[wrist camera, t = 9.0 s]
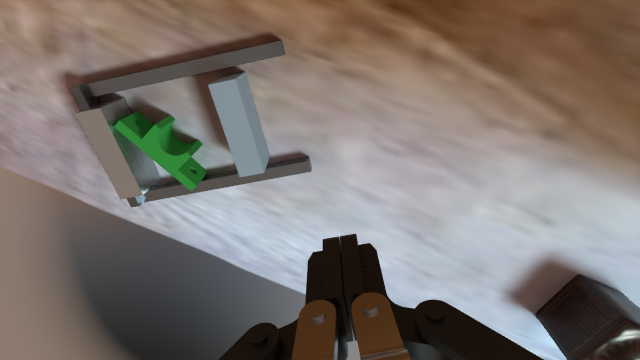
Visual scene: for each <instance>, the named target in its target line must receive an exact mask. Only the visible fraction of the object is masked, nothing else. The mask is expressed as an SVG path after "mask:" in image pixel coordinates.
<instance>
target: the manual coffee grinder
mask: <svg viewBox="0 0 640 360" xmlns="http://www.w3.org/2000/svg"><path fill="white" fill-rule="evenodd" d="M536 318H537V319H538V320H539V321H540V322H541V324H542V325H543V326H544V328H545V329H546V330H547V332H548V333H549V335H550V336H551V338H552V339H553V340H554V342H555V343H556V345H557V346H558V347H559V349H560V350H561V352H562V353H563V354H564V356H565V357H566V359H567V360H640V308H639V307H638V306H636V305H635V304H634V303H633V302H632V301H630V300H629V299H628V298H627V297H626V296H625V295H623V294H622V293H620V292H619V291H617V290H615V289H613V288H611V287H609V286H607V285H604V284H602V283H600V282H598V281H595V280H592V279H590V278H587V277H585V276H582V275H580V274H579V275H577V276H576V277H575V278H574V279H572V280H571V281H570V282H569V283H568V284H566V285H565V286H564V287H563V288H562V289H561V290H560V291H559V292H558V293H557V294H556V295H555V296H554V297H553V298H552V299H550V300H549V301H548V302H547V303H546V304H545V305H544V306H543V307H542V308H541V309H540V310H539V311H538V312H537V314H536Z"/></svg>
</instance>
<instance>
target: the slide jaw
mask: <svg viewBox="0 0 640 360" xmlns="http://www.w3.org/2000/svg"><path fill="white" fill-rule="evenodd" d="M208 86H209V89H210V92H211V95H212V98H213V101H214V104H215V107H216V110H217V112H218V115H219V118H220V121H221V124H222V127H223V130H224V133H225V136H226V139H227V142H228V145H229V147H230V150H231V153H232V156H233V159H234V162H235V165H236V168H237V171H238V174H239V177H244V176H250V175H255V174H261V173H264V172H265V169H266V166H267V164H268V161H269V158H270V155H269V152H268V148H267V145H266V142H265V138H264V135H263V131H262V128H261V124H260V121H259V117H258V114H257V111H256V107H255V104H254V100H253V97H252V93H251V90H250V87H249V83H248V80H247V76H246V73H245V72H242V73H238V74H233V75H228V76H224V77H220V78H219V79H217V80H215V81H214V82H212V83H210V84H209V85H208Z"/></svg>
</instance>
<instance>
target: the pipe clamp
mask: <svg viewBox="0 0 640 360" xmlns="http://www.w3.org/2000/svg"><path fill="white" fill-rule="evenodd" d="M174 120H175V118H174V117H172V116H171V115H169V116H168V117H166V118H164V119H163V120H161V121H160V122H158V123H157V124H155V125H154V124H153V123H152V122H150V121H149V120H148V119H147V118H146V117H145V116H144V115H142V114H141V113H140V112H139V111H137V112H135V113H133V114H131V115H129V116H127V117H125V118H123V119H121V120H119V121H118V123H117V124H116V125H115V126H114V127H115V128H116V129H117V130H118V131H119V132H121V133H122V134H123V135H124V136H125V137H127V138H128V139H129V140H130V141H131V142H133V143H134V144H135V145H136V146H137V147H139V148H140V149H141V150H142V151H143V152H145V153H146V154H147V155H148V156H149V157H151V158H152V159H153V160H154V161H155V162H157V163H158V164H159V165H160V166H161V167H163V168H164V169H165V170H166V171H167V172H169V173H170V174H171V175H172V176H173V177H175V178H176V179H177V180H178V181H179V182H181V183H182V184H183V185H184V186H185V187H187V188H188V189H189V190H190V191H192V190H193V189H195V188H196V187H197V186H198V184H199V183H200V181H201V180H202V179H203V177H204V176H205V175H206V173H207V172H208V171H206V170H205V169H204V168H203V167H202V166H201V165H200V164H198V163H197V162H196V161H195V160H194V159H193V158H192V157H191V156H192V155H193V154H194V153H195V152H196V151H197V150H198V149H199V148H200V147H201V146H202V143H201V142H200V141H199V140H198V141H196V142H194V143H184V142H182V141H180V140H179V139H178V138H177V137H176V136H175V135H174V133H173V130H172V124H173V121H174Z"/></svg>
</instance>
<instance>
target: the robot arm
mask: <svg viewBox="0 0 640 360" xmlns="http://www.w3.org/2000/svg"><path fill="white" fill-rule="evenodd" d="M340 242H341V243H340ZM307 270H308V271H307V286H306V303H305V306H304V307H303V308H302V310H301V312H300V314H299V318H298V319H297V320H295V321H294V322H293V323H291V324H288V325H286V326H284V327H282V328H279V329H277V327H276V326H275V325H273V324H271V323H260V324H257V325H255V326H253V327H252V328H250V329H249V330H248V331H247V332H246V333H245V334H244V335H243V336H242V337H241V338H240V339H239V340H238V341H237V342H236V343H235V344H234V345H233V346H232V347H231V348H230V349H229V350H228V351H227V352H226V353H225V354H224V355H223V356H222V357H221V358H220V359H219V360H348V357H347V356H348V348H347V342H350V341H353V334H354V338H355V340H357V342H358V347H359V352H360V357H361V360H544V359H542V358H540V357H538V356H537V355H535V354H533V353H532V352H530V351H528V350H526V349H525V348H523V347H521V346H520V345H518V344H516V343H514V342H513V341H511V340H509V339H508V338H506V337H504V336H502V335H501V334H499V333H497V332H496V331H494V330H492V329H490V328H489V327H487V326H485V325H484V324H482V323H480V322H478V321H477V320H475V319H473V318H472V317H470V316H468V315H466V314H465V313H463V312H461V311H460V310H458V309H456V308H454V307H453V306H451V305H449V304H448V303H446V302H443V301H440V300H426V301H423V302H422V303H420V304H419V305H418V306H417V307H416V308H415V309H413V308H406V307H402V306H399V305H397V304H395V303H393V302H392V301H391V300H390V299H389V298H388V296H387V293H386V290H385V285H384V281H383V277H382V272H381V268H380V264H379V259H378V255H377V251H376V249H375V248H374V247H373V246H372V245H371V244H370V243H368V244H361V245H358V241H357V236H356V234H351V235H345V236H340V238H339V237H333V238H327V239H323V251H318V252H313V253H312V255H311V257H310V258H309V260H308V269H307ZM352 329H353V332H352Z"/></svg>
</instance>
